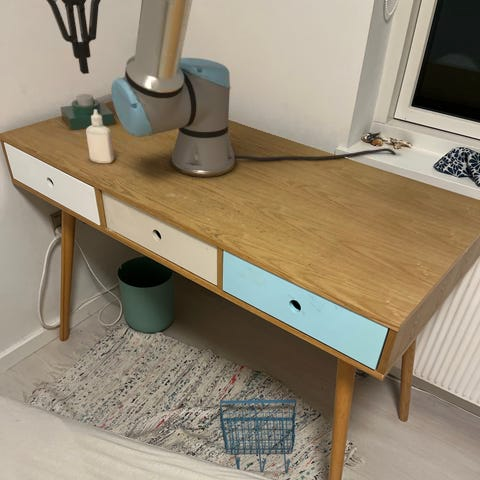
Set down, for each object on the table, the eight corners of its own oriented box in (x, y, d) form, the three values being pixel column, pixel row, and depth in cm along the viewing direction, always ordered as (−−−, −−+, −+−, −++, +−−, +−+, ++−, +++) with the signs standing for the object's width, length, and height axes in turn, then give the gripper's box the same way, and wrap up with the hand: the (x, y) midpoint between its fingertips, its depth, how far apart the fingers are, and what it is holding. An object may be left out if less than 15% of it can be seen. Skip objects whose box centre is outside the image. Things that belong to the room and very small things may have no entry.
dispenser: (103, 112, 147) (101, 94, 144) (114, 124, 141) (112, 106, 138) (62, 117, 143) (59, 99, 139) (71, 130, 136) (67, 111, 133)
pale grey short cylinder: (91, 101, 141) (90, 93, 140) (95, 106, 138) (94, 98, 137) (75, 102, 139) (74, 95, 138) (79, 107, 136) (78, 100, 135)
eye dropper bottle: (102, 166, 120) (95, 115, 112) (87, 159, 123) (79, 108, 115) (116, 161, 123) (110, 110, 115) (102, 154, 125) (95, 104, 117)
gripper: (92, -46, 115) (106, 66, 130) (33, -46, 110) (54, 70, 126) (101, -43, 110) (114, 73, 125) (39, -43, 105) (61, 78, 121)
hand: (84, 72), depth 125 cm, fingers closed
